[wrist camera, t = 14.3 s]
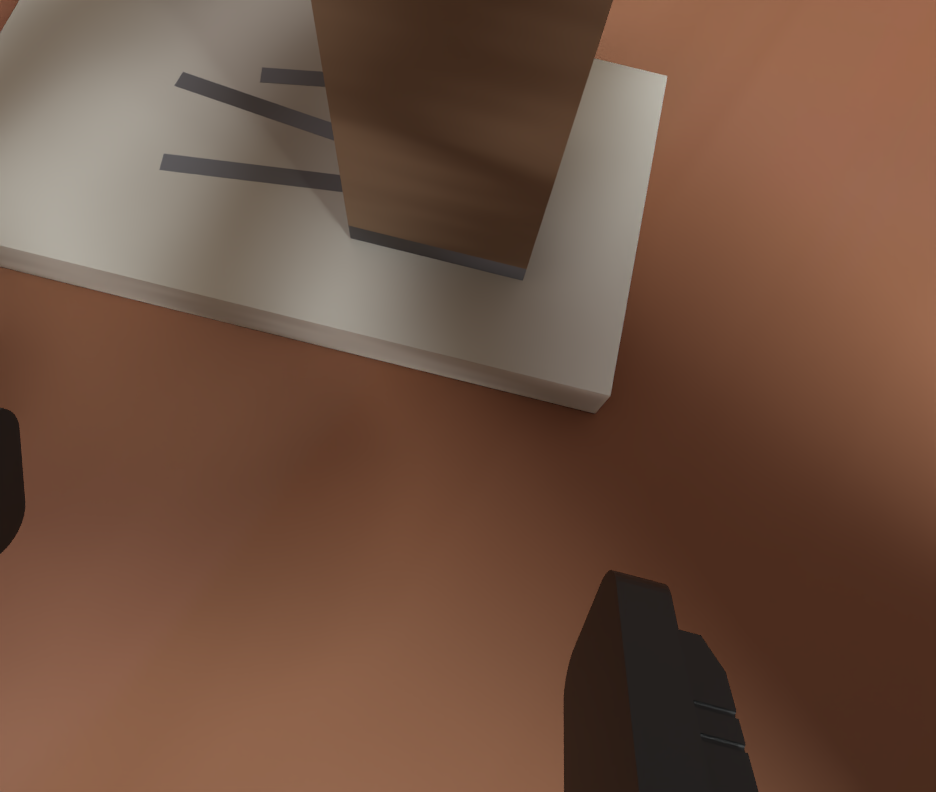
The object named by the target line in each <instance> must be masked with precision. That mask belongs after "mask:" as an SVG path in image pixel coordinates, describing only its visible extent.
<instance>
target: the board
mask: <svg viewBox="0 0 936 792" xmlns="http://www.w3.org/2000/svg"><path fill="white" fill-rule="evenodd" d="M666 81H667V76H665V75H661V74H657V73H652V72H648V71H644V70H640V69H636V68H632V67H628V66H624V65H620V64H616V63H612V62H607V61H603V60H599V59H595V58H594V61H593V64H592V67H591V70H590V73H589V76H588V79H587V82H586V85H585V89H584V92H583V95H582V98H581V101H580V104H579V107H578V110H577V114H576V117H575V120H574V123H573V126H572V129H571V132H570V135H569V138H568V142H567V145H566V148H565V151H564V154H563V157H562V160H561V163H560V167H559V170H558V173H557V176H556V179H555V182H554V185H553V188H552V191H551V195H550V198H549V201H548V204H547V207H546V210H545V213H544V216H543V220H542V223H541V226H540V229H539V232H538V235H537V238H536V241H535V244H534V248H533V251H532V254H531V257H530V260H529V263H528V266H527V269H526V273H525V276H524V279H523V281H522V280H518V279H514V278H510V277H506V276H502V275H497V274H493V273H489V272H485V271H481V270H477V269H473V268H469V267H465V266H461V265H457V264H453V263H449V262H445V261H441V260H437V259H433V258H429V257H424V256H420V255H416V254H412V253H408V252H404V251H400V250H396V249H392V248H388V247H384V246H380V245H376V244H372V243H368V242H364V241H360V240H356V239H352V238H350V233H349V227H348V221H347V215H346V209H345V203H344V197H343V190H342V184H341V178H340V172H339V166H338V160H337V154H336V148H335V142H334V136H333V130H332V124H331V118H330V112H329V106H328V100H327V94H326V88H325V82H324V76H323V70H322V64H321V58H320V52H319V46H318V40H317V34H316V28H315V22H314V16H313V10H312V4H311V0H19V2H18V4H17V5H16V7H15V9H14V10H13V12H12V14H11V15H10V17H9V19H8V21H7V22H6V24H5V26H4V27H3V29H2V31H1V32H0V267H4V268H8V269H12V270H16V271H20V272H24V273H28V274H32V275H36V276H40V277H44V278H48V279H52V280H56V281H60V282H64V283H68V284H72V285H76V286H81V287H85V288H89V289H93V290H97V291H101V292H105V293H109V294H113V295H117V296H121V297H125V298H129V299H133V300H137V301H141V302H145V303H149V304H153V305H157V306H161V307H166V308H170V309H174V310H178V311H182V312H186V313H190V314H194V315H198V316H202V317H206V318H210V319H214V320H218V321H222V322H226V323H230V324H234V325H238V326H242V327H247V328H251V329H255V330H259V331H263V332H267V333H271V334H275V335H279V336H283V337H287V338H291V339H295V340H299V341H303V342H307V343H311V344H315V345H319V346H323V347H327V348H332V349H336V350H340V351H344V352H348V353H352V354H356V355H360V356H364V357H368V358H372V359H376V360H380V361H384V362H388V363H392V364H396V365H400V366H404V367H408V368H413V369H417V370H421V371H425V372H429V373H433V374H437V375H441V376H445V377H449V378H453V379H457V380H461V381H465V382H469V383H473V384H477V385H481V386H485V387H489V388H493V389H498V390H502V391H506V392H510V393H514V394H518V395H522V396H526V397H530V398H534V399H538V400H542V401H546V402H550V403H554V404H558V405H562V406H566V407H570V408H574V409H578V410H583V411H587V412H591V413H596V412H597V411H598V410H599V409H600V407H601V406H602V405H603V404H604V403H605V402H606V401H607V399H608V398H609V397H610V396H611V390H612V384H613V379H614V373H615V368H616V362H617V356H618V351H619V345H620V339H621V334H622V328H623V323H624V317H625V311H626V306H627V300H628V294H629V289H630V283H631V278H632V272H633V266H634V261H635V255H636V249H637V244H638V238H639V233H640V227H641V221H642V216H643V210H644V204H645V199H646V193H647V188H648V182H649V176H650V171H651V165H652V159H653V154H654V148H655V143H656V137H657V131H658V126H659V120H660V114H661V109H662V103H663V97H664V92H665V86H666Z"/></svg>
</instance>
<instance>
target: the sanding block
mask: <svg viewBox="0 0 936 792" xmlns="http://www.w3.org/2000/svg"><path fill="white" fill-rule="evenodd" d="M612 1H613V0H311V4H312V10H313V16H314V22H315V28H316V34H317V40H318V46H319V52H320V58H321V64H322V70H323V76H324V82H325V88H326V94H327V100H328V106H329V112H330V118H331V124H332V130H333V136H334V142H335V148H336V154H337V160H338V166H339V172H340V178H341V184H342V190H343V197H344V203H345V209H346V215H347V221H348V227H349V233H350V238H352V239H356V240H360V241H364V242H368V243H372V244H376V245H380V246H384V247H388V248H392V249H396V250H400V251H404V252H408V253H412V254H416V255H420V256H424V257H429V258H433V259H437V260H441V261H445V262H449V263H453V264H457V265H461V266H465V267H469V268H473V269H477V270H481V271H485V272H489V273H493V274H497V275H502V276H506V277H510V278H514V279H518V280H522V281H523V279H524V276H525V273H526V269H527V266H528V263H529V260H530V257H531V254H532V251H533V248H534V244H535V241H536V238H537V235H538V232H539V229H540V226H541V223H542V220H543V216H544V213H545V210H546V207H547V204H548V201H549V198H550V195H551V191H552V188H553V185H554V182H555V179H556V176H557V173H558V170H559V167H560V163H561V160H562V157H563V154H564V151H565V148H566V145H567V142H568V138H569V135H570V132H571V129H572V126H573V123H574V120H575V117H576V114H577V110H578V107H579V104H580V101H581V98H582V95H583V92H584V89H585V85H586V82H587V79H588V76H589V73H590V70H591V67H592V64H593V61H594V57H595V54H596V51H597V48H598V45H599V42H600V39H601V36H602V32H603V29H604V26H605V23H606V20H607V17H608V14H609V11H610V8H611V4H612Z"/></svg>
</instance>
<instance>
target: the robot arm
mask: <svg viewBox="0 0 936 792" xmlns="http://www.w3.org/2000/svg"><path fill="white" fill-rule="evenodd" d="M24 512H25V494H24V481H23V468H22V455H21V443H20V430H19V423H18V420H17V418H16V416H15V415H14V414H13V413H12V412H11V411H9V410H7V409H3V408H0V554H1V553H2V552H3V551H4V550H5V549H6V548H7V547H8V545H9V544H10V543H11V542H12V540H13V539H14V537H15V536H16V534H17V532H18V530H19V528H20V526H21V523H22V520H23V517H24ZM735 713H736V708H735V705H734V701H733V697H732V694H731V690H730V686H729V683H728V679H727V675H726V672H725V671H724V669H723V668H722V666H721V665H720V663H719V662H718V660H717V659H716V657H715V656H714V654H713V653H712V651H711V650H710V648H709V647H708V646H707V644H706V643H705V641H704V640H703V638H702V637H701V635H697V634H693V633H690V632H686V631H682V630H678V625H677V621H676V616H675V611H674V606H673V602H672V597H671V593H670V590H669V588H668V586H667V585H665V584H662V583H658V582H655V581H651V580H647V579H643V578H639V577H636V576H632V575H628V574H624V573H620V572H617V571H613V570H610V571H608V572H607V573H606V575H605V576H604V578H603V580H602V582H601V584H600V587H599V589H598V592H597V594H596V596H595V599H594V601H593V604H592V606H591V608H590V611H589V613H588V616H587V618H586V621H585V623H584V625H583V628H582V630H581V633H580V635H579V637H578V640H577V642H576V645H575V647H574V650H573V652H572V655H571V658H570V662H569V666H568V670H567V675H566V681H565V689H564V792H758V789H757V785H756V781H755V778H754V774H753V770H752V767H751V763H750V759H749V756H748V753H745V751H744V747H745V741H744V737H743V734H742V730H741V727H740V723H739V719H736V718H735Z"/></svg>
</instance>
